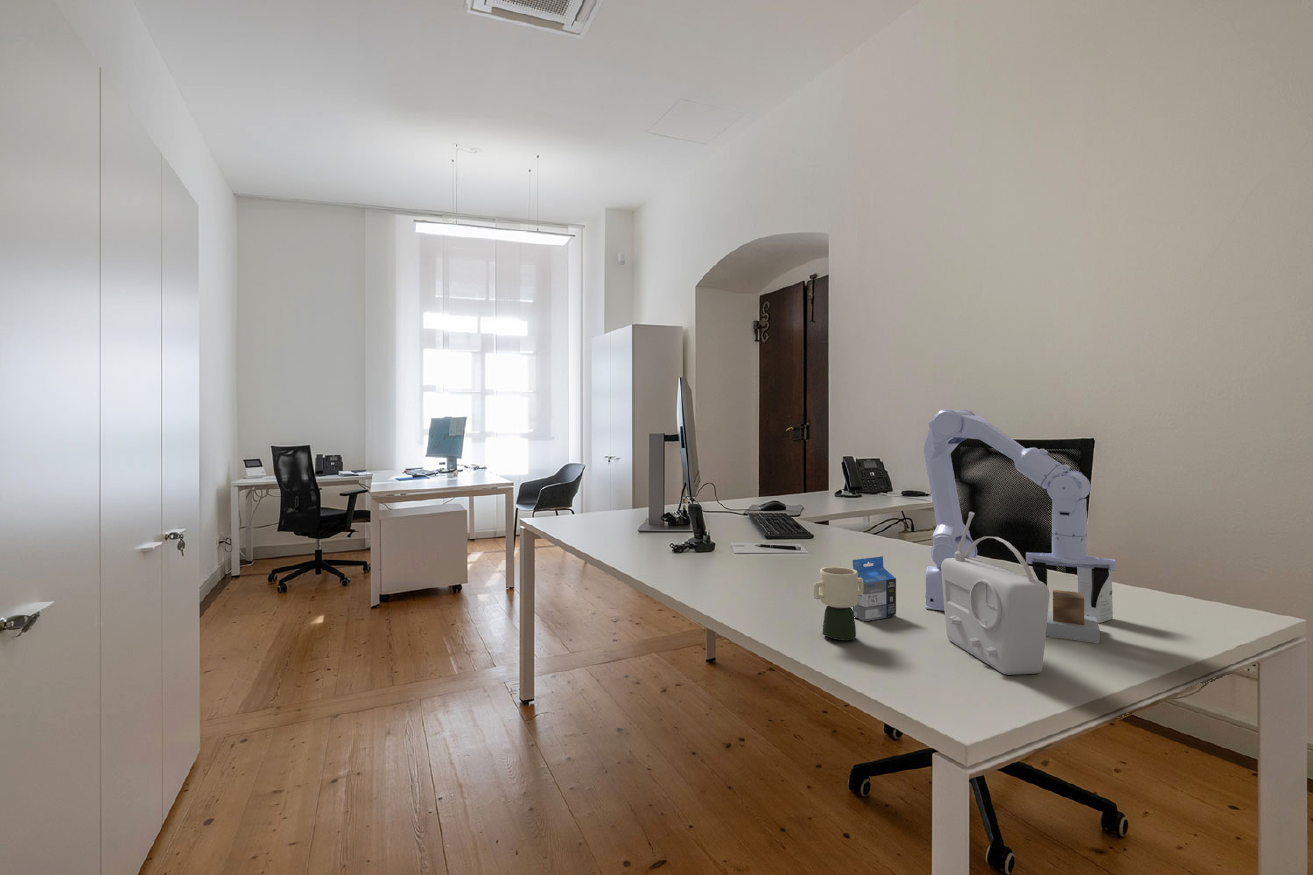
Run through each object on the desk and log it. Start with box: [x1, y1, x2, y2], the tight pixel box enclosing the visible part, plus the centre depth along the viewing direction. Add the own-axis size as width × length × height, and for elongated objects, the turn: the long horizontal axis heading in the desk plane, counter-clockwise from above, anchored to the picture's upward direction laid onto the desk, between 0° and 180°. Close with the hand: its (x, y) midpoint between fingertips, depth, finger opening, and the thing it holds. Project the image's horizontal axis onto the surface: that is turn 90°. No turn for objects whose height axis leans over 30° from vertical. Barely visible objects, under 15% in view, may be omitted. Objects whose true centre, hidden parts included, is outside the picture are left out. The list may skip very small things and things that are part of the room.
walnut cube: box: [1052, 589, 1084, 625], centre depth 121 cm, size 5×5×5 cm
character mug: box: [813, 566, 863, 641], centre depth 119 cm, size 11×7×13 cm, turn 108°
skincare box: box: [1076, 564, 1114, 624], centre depth 130 cm, size 6×4×12 cm
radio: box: [941, 511, 1051, 676], centre depth 109 cm, size 22×8×25 cm, turn 4°
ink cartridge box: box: [852, 555, 897, 622], centre depth 132 cm, size 9×4×12 cm, turn 115°
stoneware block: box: [1046, 610, 1101, 644], centre depth 121 cm, size 9×9×3 cm
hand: (1069, 603), depth 121 cm, fingers open, 7 cm apart
